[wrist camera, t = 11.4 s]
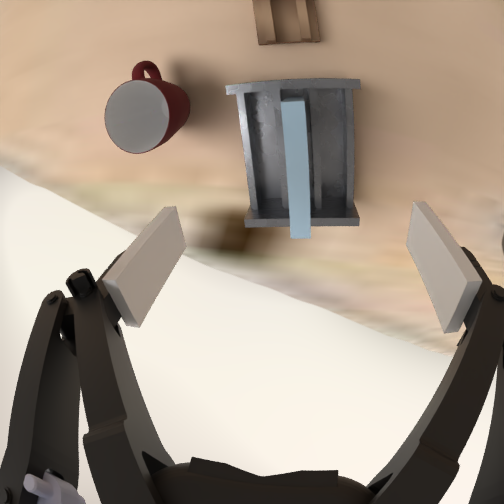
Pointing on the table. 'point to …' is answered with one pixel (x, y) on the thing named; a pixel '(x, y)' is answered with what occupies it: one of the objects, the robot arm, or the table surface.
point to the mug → (145, 111)
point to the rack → (319, 149)
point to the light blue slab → (297, 165)
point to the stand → (285, 21)
